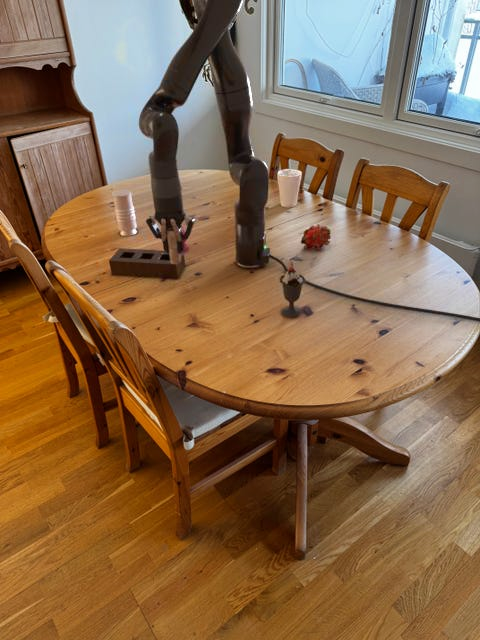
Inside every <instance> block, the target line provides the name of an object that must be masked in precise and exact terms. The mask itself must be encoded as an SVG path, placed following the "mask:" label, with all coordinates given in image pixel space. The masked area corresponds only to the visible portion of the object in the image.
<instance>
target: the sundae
mask: <svg viewBox="0 0 480 640" xmlns="http://www.w3.org/2000/svg"><path fill="white" fill-rule="evenodd" d="M289 262H290V267H288V270H289V271H287V272H285V273H284V274H282V275H280V277H279V283H280V284H282V291H283V297H284V299H285V300H286V301H287V302H288V306H286V307H284V308H283V309H282V310H281V314H282V315H283V316H284V317H287V318H296V317H298V316H300V315H301V310H300V309H299V308H297V307H295V304H294V303H296V302H297V301H298V300H299V299H300V296H301V293H302V290H303V289H302V288H303V285H304V284H306V283H305V281H307V280H306V278H305V276H303V275H302V274H300V273H299V272H298V271H297V269H296V270H295V267H294V265H293V262H292V259H291V258H289Z"/></svg>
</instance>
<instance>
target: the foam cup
mask: <svg viewBox="0 0 480 640" xmlns="http://www.w3.org/2000/svg"><path fill="white" fill-rule="evenodd" d="M302 175H303V174H302V171H301V170H299V169H293V168H284V169H280V170H279V171H277V181H278V192H279V202H280V206H281V207H283V208H294V207H296V206H297V201H298V197H299V191H300V186H301V181H302Z"/></svg>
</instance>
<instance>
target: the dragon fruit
mask: <svg viewBox="0 0 480 640" xmlns="http://www.w3.org/2000/svg"><path fill="white" fill-rule="evenodd" d="M331 233H332V232H331V229H329V228H328V226H327V225H324V226H323V225H320V223H317V224H316V226H315V225H310V227H309V228H307V229H305V230H304V231H303V236H302V237H301V239H300V243H301V245H303V248H304V249H307V250H311V249H312V250H313V249H317V251H320V250H321V249H323V247H324V246H328V245H329V243H331V240H330V239H331Z"/></svg>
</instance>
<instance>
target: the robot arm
mask: <svg viewBox="0 0 480 640" xmlns="http://www.w3.org/2000/svg"><path fill="white" fill-rule="evenodd" d="M243 1H244V0H192V4H193V8H194V12H195V15H196V18H197V22H198V23H197V24H196V26H195V27H194V29H193V31H192V32H191V33H190V35H189V36H188V38H186V40H185V41H184V42H183V44H182V45H181V46H180V47H179V49H177V51H176V53H175V54H174V55H173V57H172V59H171V60H170V62H169V64H168V66H167V67H166V70H165V73H164V75H163V77H162V79H161V81H160V84H159V86H158V87H157V89H156V90H155V91H154V92H153V93H152V95H151V96H150V98H149V99H148V100H147V101H146V103H145V104H144V106H143V107H142V109H141V112H140V114H139V118H138V127H139V131H140V132H141V134H142V135H143V136H145V137H146V138H148V139H151V140H152V145H153V148H152V149H153V150H152V151H150V153H149V154H148V166H149V173H150V187H151V193H152V194H151V195H152V201H153V206H154V207H153V208H154V215H149V216H148V217H147V218H146V220H145V223H146V224H147V226H148V228H149V229H150V231H151V233H152V235H153V236H154V238H155V239H158V240H161V242H162V247H163V251H166V253H169V247H168V240H167V232H166V227H173V229H174V232H175V234H176V237H177V240H178V241H177V246H178V253H182V251H183V250H184V248H185V247H184V240H188V239H189V237H190V235H191V233H192V230H193V228H194V225H195V221H196V218H195V217H194V216H193V217H190V216H187V214H186V212H185V210H184V204H183V193H182V191H183V190H182V185H181V180H180V176H179V166H178V159H177V155H178V148H179V140H180V139H179V138H180V129H179V125H178V121H177V119H176V117H175V115H174V114H173V112H174V111H175V109H177V108H180V107H183V106H184V105H185V104H186V102H187V101H188V99H189V97H190V95H191V92H192V91H193V88H194V86H195V84H196V83H197V80H198V78H199V76H200V74H201V72H202V70H203V69H204V66H205V65H206V63H207V61H208V64H209V65H208V66H209V69H210V74H211V78H212V83H213V91H214V95H215V100H216V105H217V109H218V113H219V118H220V123H221V126H222V131H223V135H224V140H225V146H226V155H227V165H228V167H227V168H228V173H229V177H230V178H231V180H232V182H233V183H234V184H235V185H237V186H238V187H239V194H238V195H239V197H238V199H237V200H236V201H235V202H234V204H233V206H234V207H233V209H234V210H233V211H234V239H235V264H236V266H237V267H239V268H241V269H245V270H246V269H247V270H254V269H260V268H264V267H265V264H269V263H270V259H271V260H274V261H275V262H277V263H279V264H280V266H281V267H282V268H283V270H284V271H285V273H287V271H289V268H288V267H287V266H286V264H285V263H284V262H283V261H282V260H281V259H279V258H277V257H276V256H274V255H272V254H271V248H270V247H267V232H266V206H267V204H268V201H269V189H270V172H269V168H268V166H267V164H266V162H265V161H263V160H262V159H260V158H258V157H256V156H255V154H254V151H253V147H252V141H251V136H250V127H251V121H252V117H253V116H252V115H253V95H252V89H251V84H250V83H251V82H250V78H249V75H248V72H247V69H246V67H245V65H244V64H243V62H242V60H241V57H240V56H239V54H238V53H237V50H236V48H235V46H234V43H233V41H232V38H231V34H230V28H229V27H230V26H231V24H232V23H233V21H234V20H235V18H236V17H237V15H238V13H239V12H240V10H241V8H242V6H243ZM183 222H185V225H186V226H187V227H186V229H185V233H184V234H183V231H182V227H183V225H182V224H183ZM157 223H158V224H159V225H160V226H161V229H160V227H159V225H158V224H157ZM304 284H306V285H308V286H310V287H313V288H316V289H318V290H320V291H321V290H322V291H324V292H328V293H330V294H333V295H336V296H340V297H344V298H348V299H351V300H356V301H359V302H363V303H368V304H373V305H379V306H383V307H390V308H394V309H395V308H396V309H401V310H407V311H413V312H414V311H415V312H420V313H427V314H433V315H440V316H445V317H453V318H458V319H465V320H470V321H475V322H480V317H477V316H470V315H466V314H460V313H454V312H447V311H440V310H433V309H427V308H420V307H416V306H415V307H414V306H409V305H408V306H407V305H401V304H396V303H390V302H384V301H379V300H374V299H368V298H364V297H360V296H355V295H351V294H348V293H343V292H340V291H337V290H334V289H330V288H328V287H325V286H321V285H318V284H315V283H313V282H310V281H309V280H306V281H305V283H304Z"/></svg>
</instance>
